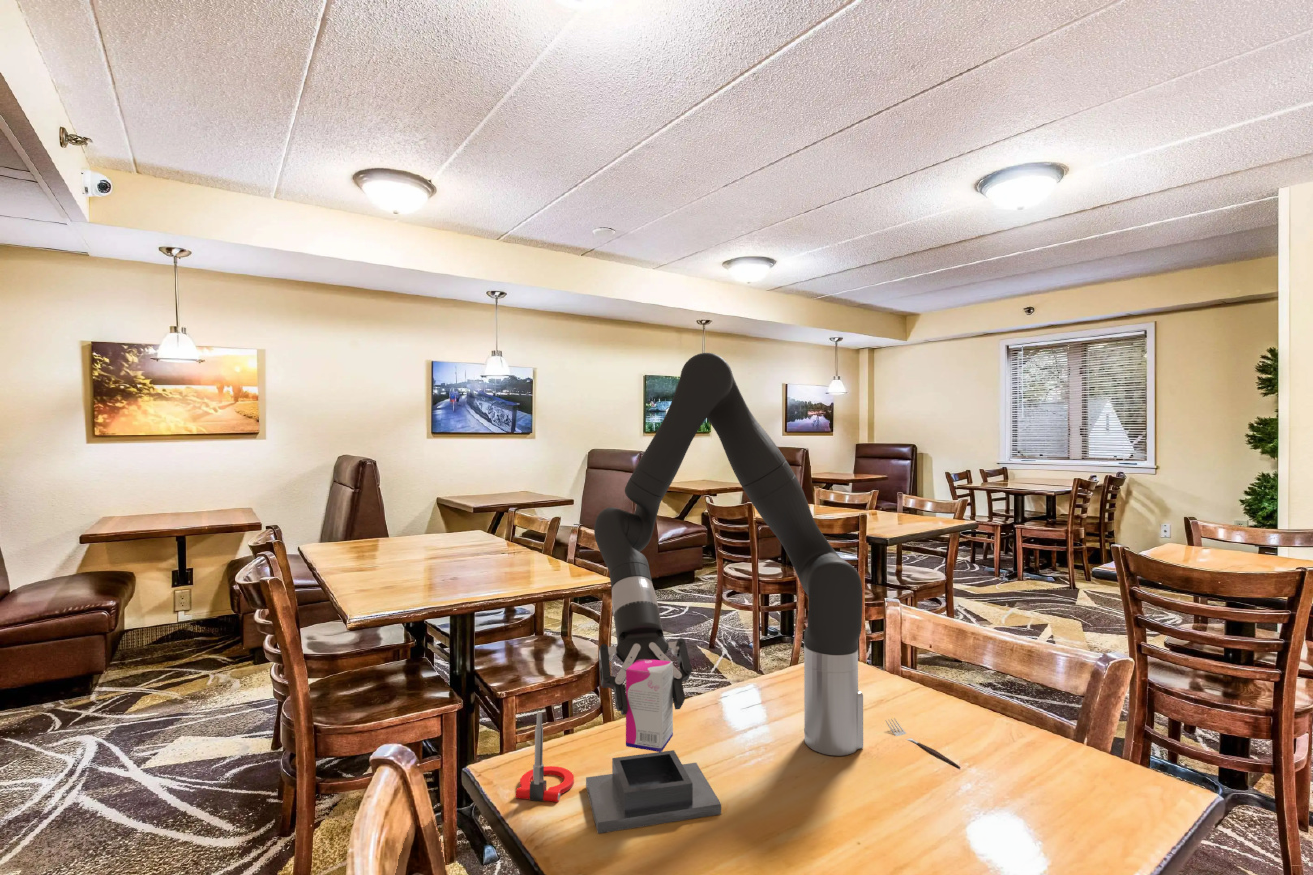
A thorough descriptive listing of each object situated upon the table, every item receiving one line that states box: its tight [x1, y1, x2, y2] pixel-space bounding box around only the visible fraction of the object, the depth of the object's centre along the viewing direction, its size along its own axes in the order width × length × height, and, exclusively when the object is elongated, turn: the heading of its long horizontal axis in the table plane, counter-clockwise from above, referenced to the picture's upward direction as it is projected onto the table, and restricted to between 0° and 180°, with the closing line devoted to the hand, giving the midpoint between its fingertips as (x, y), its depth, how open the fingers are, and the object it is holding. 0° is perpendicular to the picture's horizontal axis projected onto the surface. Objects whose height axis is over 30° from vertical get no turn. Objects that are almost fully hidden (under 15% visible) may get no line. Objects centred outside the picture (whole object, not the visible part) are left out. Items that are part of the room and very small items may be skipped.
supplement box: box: [625, 659, 674, 753], centre depth 96 cm, size 6×6×12 cm
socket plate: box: [585, 749, 722, 834], centre depth 96 cm, size 18×12×4 cm, turn 104°
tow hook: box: [515, 712, 575, 803], centre depth 100 cm, size 8×13×9 cm
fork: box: [885, 717, 961, 769], centre depth 112 cm, size 3×16×2 cm, turn 23°
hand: (652, 709), depth 95 cm, fingers closed on supplement box, 8 cm apart
